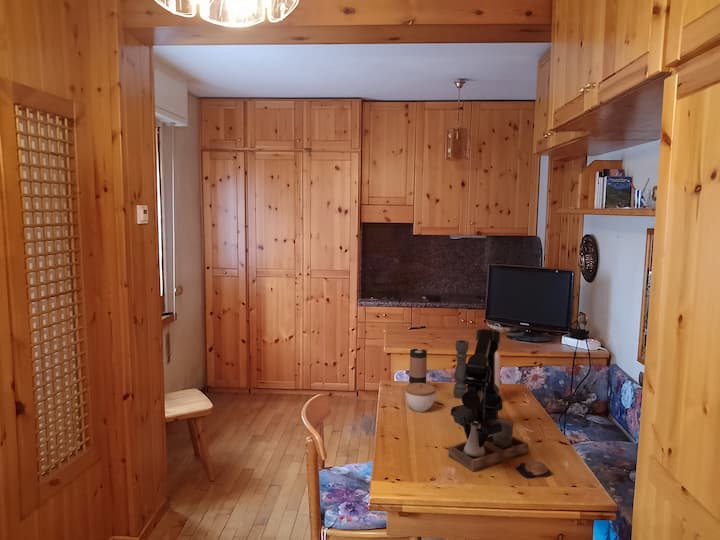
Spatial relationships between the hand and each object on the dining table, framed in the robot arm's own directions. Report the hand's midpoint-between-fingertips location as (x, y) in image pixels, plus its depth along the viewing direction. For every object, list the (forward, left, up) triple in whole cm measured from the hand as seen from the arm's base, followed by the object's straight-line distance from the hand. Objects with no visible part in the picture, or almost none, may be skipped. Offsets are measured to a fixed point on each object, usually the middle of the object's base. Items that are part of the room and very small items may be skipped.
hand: (474, 443), depth 171 cm
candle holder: (-36, -48, -6) cm, 60 cm away
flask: (0, 0, -3) cm, 3 cm away
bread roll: (-11, +15, -6) cm, 20 cm away
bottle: (-43, -37, -6) cm, 57 cm away
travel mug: (-21, -60, -6) cm, 64 cm away
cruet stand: (-6, 0, -6) cm, 8 cm away
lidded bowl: (-11, -45, -6) cm, 47 cm away
